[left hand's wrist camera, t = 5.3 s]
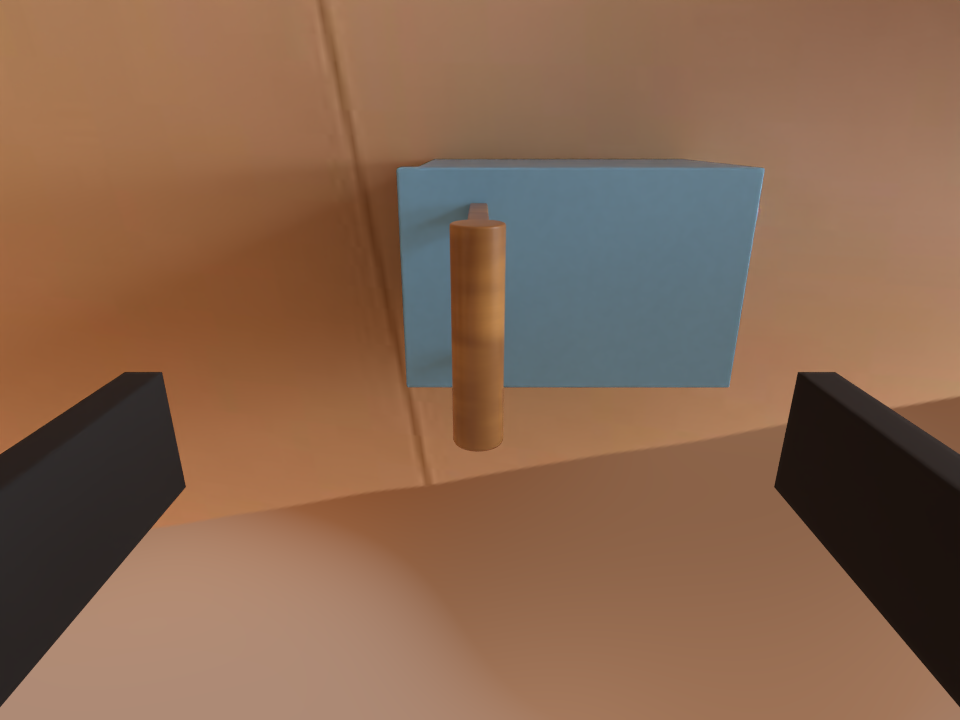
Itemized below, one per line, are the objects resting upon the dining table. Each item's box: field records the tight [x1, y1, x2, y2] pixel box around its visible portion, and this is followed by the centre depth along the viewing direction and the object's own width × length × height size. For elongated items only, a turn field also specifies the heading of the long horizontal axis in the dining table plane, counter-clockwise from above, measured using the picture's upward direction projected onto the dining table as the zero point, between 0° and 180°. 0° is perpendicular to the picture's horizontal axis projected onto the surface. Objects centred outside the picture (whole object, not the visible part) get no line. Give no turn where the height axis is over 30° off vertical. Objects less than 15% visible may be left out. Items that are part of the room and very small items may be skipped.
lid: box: [396, 167, 765, 451], centre depth 21 cm, size 14×9×9 cm, turn 90°
